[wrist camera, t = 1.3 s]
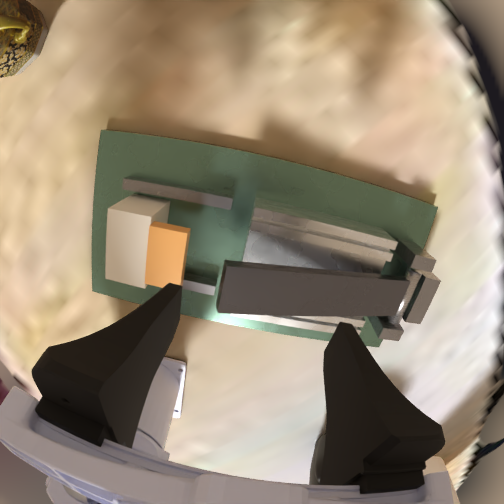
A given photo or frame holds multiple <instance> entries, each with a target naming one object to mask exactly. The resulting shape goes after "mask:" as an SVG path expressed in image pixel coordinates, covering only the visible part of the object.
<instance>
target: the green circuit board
mask: <svg viewBox="0 0 504 504" xmlns="http://www.w3.org/2000/svg"><path fill="white" fill-rule="evenodd" d="M132 194H137V195H143V196H148V197H154V198H159V199H164V200H169V201H170V208H169V215H168V222H167V224H172V225H177V226H181V227H186V228H191V231H190V238H189V244H188V251H187V258H186V265H185V272H184V280H183V285H182V297H181V309H180V314H183V315H188V316H192V317H197V318H201V319H206V320H211V321H215V322H220V323H225V324H230V325H235V326H240V327H246V328H251V329H256V330H262V331H268V332H273V333H279V334H285V335H291V336H297V337H304V338H310V339H317V340H324V341H330V340H331V338H332V336H333V334H334V332H335V330H336V328H337V326H338V324H339V322H345V323H350V324H352V325H353V326H354V328H355V329H356V331H357V333H358V334H359V336H360V338H361V339H362V341H363V342H364V344H365V346H372V347H379V346H380V344H381V342H382V340H383V339H387V340H395V341H399V339H400V337H401V336H402V334H403V332H404V330H403V329H402V327H401V325H400V324H392V323H390V322H389V321H388V320H387V319H386V317H387V316H353V317H322V316H272V315H246V314H225V313H218V312H217V308H216V301H217V296H218V291H219V285H220V280H221V275H222V270H223V265H224V260H233V261H243V262H253V263H264V264H274V265H285V266H295V267H306V268H317V269H328V270H339V271H350V272H361V273H373V274H384V275H396V276H405V274H406V271H407V269H408V267H411V268H415V269H417V270H419V271H420V272H421V273H422V275H421V277H420V279H419V282H418V284H417V286H416V289H415V291H414V293H413V295H412V298H411V300H410V302H409V304H408V306H407V308H406V310H405V312H404V315H403V317H402V318H403V319H404V321H405V322H409V323H417V324H420V323H421V322H422V320H423V318H424V316H425V314H426V312H427V310H428V307H429V305H430V303H431V301H432V299H433V297H434V295H435V293H436V291H437V288H438V286H439V284H440V282H441V281H440V280H439V279H438V278H437V277H436V276H435V275H434V274H433V273H432V270H433V267H434V265H435V262H436V260H435V259H434V258H433V257H432V256H431V255H430V254H428V253H427V252H426V251H425V250H424V246H425V243H426V241H427V238H428V235H429V232H430V229H431V226H432V224H433V221H434V218H435V215H436V212H437V209H438V207H436V206H434V205H432V204H429V203H427V202H424V201H421V200H418V199H415V198H413V197H410V196H407V195H404V194H401V193H398V192H395V191H392V190H389V189H386V188H383V187H380V186H377V185H374V184H370V183H367V182H364V181H361V180H357V179H354V178H351V177H347V176H344V175H340V174H337V173H333V172H330V171H326V170H322V169H319V168H315V167H311V166H307V165H303V164H299V163H295V162H291V161H287V160H283V159H279V158H275V157H270V156H266V155H261V154H257V153H252V152H247V151H243V150H238V149H233V148H228V147H223V146H217V145H212V144H206V143H201V142H195V141H189V140H183V139H176V138H170V137H163V136H156V135H148V134H141V133H132V132H124V131H114V130H101V134H100V141H99V149H98V157H97V166H96V176H95V187H94V201H93V220H92V291H94V292H97V293H101V294H104V295H108V296H111V297H115V298H119V299H123V300H126V301H130V302H134V303H138V304H143V303H145V302H146V301H147V300H149V299H150V298H151V297H152V296H154V295H155V294H156V293H157V292H158V291H160V290H161V289H162V288H161V287H157V286H153V285H147V287H146V288H145V289H144V288H140V287H136V286H132V285H128V284H124V283H121V282H117V281H113V280H109V279H105V266H106V231H107V213H108V208H109V207H111V206H113V205H114V204H116V203H118V202H120V201H121V200H123V199H125V198H127V197H128V196H130V195H132Z"/></svg>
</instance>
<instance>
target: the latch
mask: <svg viewBox="0 0 504 504" xmlns="http://www.w3.org/2000/svg"><path fill="white" fill-rule="evenodd" d="M169 208H170V201H169V200H164V199H159V198H154V197H148V196H143V195H137V194H132V195H130V196H128V197H127V198H125V199H123V200H121V201H120V202H118V203H116V204H114V205H113V206H111V207H109V208H108V213H107V231H106V266H105V279H109V280H113V281H117V282H121V283H124V284H128V285H132V286H136V287H140V288H144V289H145V288H146V287H147V285H153V286H157V287H161V288H163V287H164V286H165V285H167V284H168V283H173V284H177V285H181V286H182V285H183V280H184V272H185V265H186V258H187V251H188V244H189V238H190V231H191V228H186V227H181V226H177V225H172V224H167V222H168V215H169Z"/></svg>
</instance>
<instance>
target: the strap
mask: <svg viewBox="0 0 504 504" xmlns="http://www.w3.org/2000/svg"><path fill="white" fill-rule="evenodd" d="M421 275H422V273H421V272H420V271H419V270H417V269H415V268H411V267H408V269H407V271H406V274H405V276H396V275H384V274H373V273H361V272H350V271H339V270H328V269H317V268H306V267H295V266H285V265H274V264H264V263H253V262H243V261H233V260H224V265H223V270H222V275H221V280H220V285H219V291H218V296H217V301H216V308H217V312H218V313H225V314H246V315H272V316H322V317H353V316H387V317H386V319H387V320H388V321H389V322H390V323H392V324H399V323H400V321H401V319H402V317H403V315H404V312H405V310H406V308H407V306H408V304H409V302H410V300H411V298H412V295H413V293H414V291H415V289H416V286H417V284H418V282H419V279H420V277H421Z"/></svg>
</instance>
